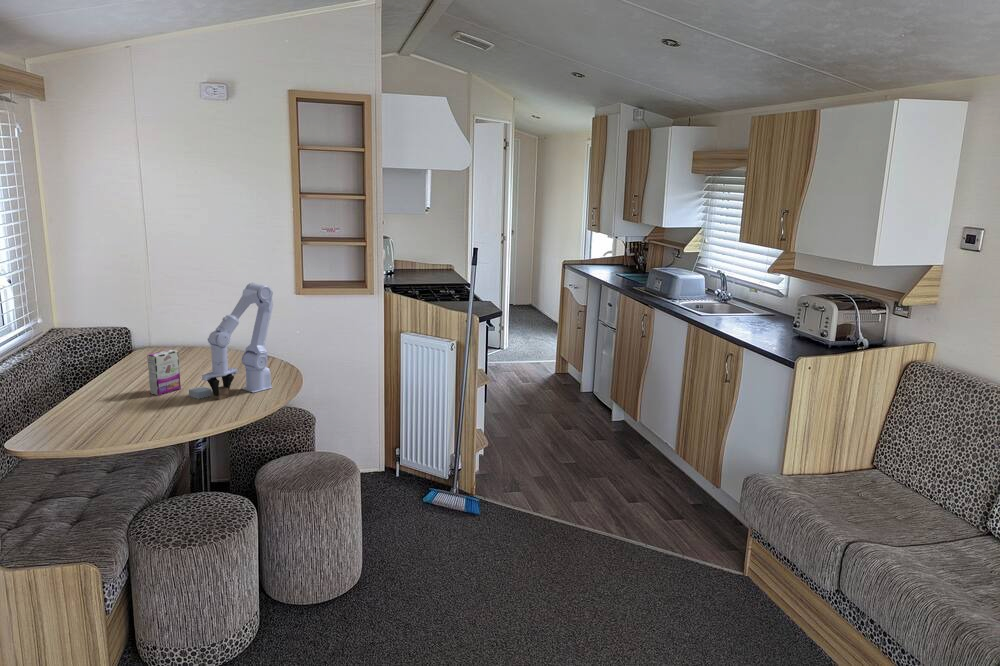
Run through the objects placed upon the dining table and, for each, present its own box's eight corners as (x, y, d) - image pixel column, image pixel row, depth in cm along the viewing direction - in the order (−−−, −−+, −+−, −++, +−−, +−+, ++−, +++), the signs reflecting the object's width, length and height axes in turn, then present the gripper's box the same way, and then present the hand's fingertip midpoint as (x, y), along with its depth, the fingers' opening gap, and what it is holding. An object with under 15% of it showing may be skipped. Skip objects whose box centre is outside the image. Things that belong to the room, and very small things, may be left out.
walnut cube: (222, 395, 285) (222, 386, 284) (228, 397, 283) (228, 388, 282) (213, 397, 282) (213, 388, 281) (219, 399, 280) (219, 390, 279)
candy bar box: (172, 387, 293) (170, 348, 290) (181, 389, 291) (179, 350, 288) (149, 394, 283) (146, 354, 280) (158, 396, 281) (155, 356, 278)
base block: (202, 393, 288) (202, 386, 287) (211, 396, 285) (211, 389, 284) (189, 396, 283) (188, 389, 282) (198, 399, 280) (198, 392, 279)
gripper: (229, 356, 287) (231, 388, 290) (196, 362, 276) (198, 396, 278) (240, 359, 283) (241, 391, 286) (207, 366, 272) (209, 399, 275)
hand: (221, 394), depth 282 cm, fingers closed on walnut cube, 4 cm apart
